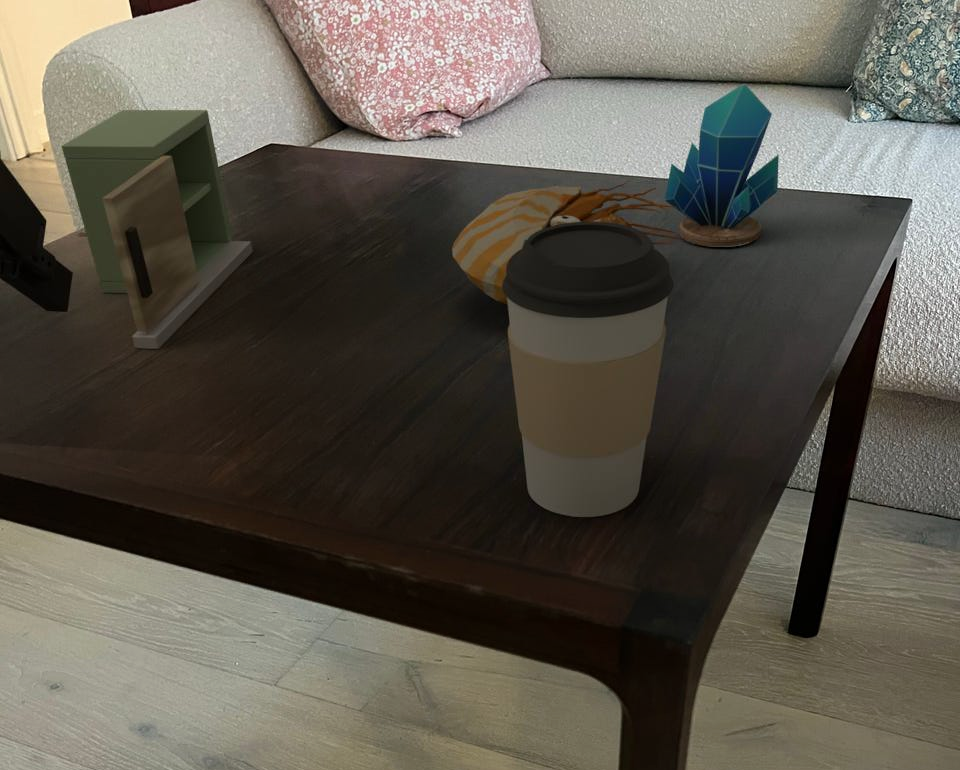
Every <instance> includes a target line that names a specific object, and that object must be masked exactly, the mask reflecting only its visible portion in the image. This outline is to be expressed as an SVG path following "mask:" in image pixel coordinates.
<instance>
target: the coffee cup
mask: <svg viewBox="0 0 960 770" xmlns="http://www.w3.org/2000/svg"><path fill="white" fill-rule="evenodd" d="M641 231H642V230H639V229H637V228H634V227H633V226H632V227H629V226H625V225H620V224H615V223H607V222H572V223H564V224H559V225H554V226H550V227H547V228H544V229H542V230H539V231H537V232H535V233H534V234H532V235H531V236H530V237H529V238H528V239H527V240H526V239H525V241H524V244H523V247H522V249H520V250H519V251H517V252H516V253H515V254H514V255H513V256H512V257H511V258H510V260H509V261H508V263H507V266H506V277H505V279H504V280H503V283H502V290H503V292H504V294H505V296H506V297H507V302H508V305H507V311H508V319H509V325H508V328H507V338H508V345H509V355H510V363H511V372H512V379H513V389H514V396H515V405H516V413H517V420H518V429H519V431H520V434H521V438H522V440H521V441H522V449H523V459H524V466H525V467H524V470H525V477H526V486H527V487H526V488H527V492H528V494H529V496H530V498H531V499H532V500H533V501H534V503H536V504H537V505H538V506H540V507H542V508H543V509H545V510H547V511H549V512H552V513H554V514H559V515H562V516H566V517H574V518H593V517H594V518H595V517H601V516H606V515H610V514H614V513H617V512H619V511H621V510H623V509H625V508H626V507H628V506H629V505H631V504H632V503H633V502H634V501H635V500H636V498H637V497H638V495H639V490H640V484H641V478H642V472H643V466H644V465H643V464H644V457H645V451H646V444H647V437H648V435H649V433H650V431H651V427H652V426H651V425H652V420H653V415H654V414H653V413H654V407H655V401H656V395H657V389H658V384H659V377H660V371H661V365H662V357H663V352H664V346H665V339H666V334H667V326H666V324H665V319H666V318H665V317H666V310H667V305H668V298H669V295H671V293H672V292H673V290H674V286H675V281H674V278H673V275H672V274H671V272H670V264H669V262H668V259H667V258H666V257H665V256H664V255H663V254H662V253H661V252H660V251H659V250H658V249H656V248H655V246H654V244H652V242H653V241H652V239H651V238H650V237H649V235H647V234H645V233H643V232H641Z"/></svg>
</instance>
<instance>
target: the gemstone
mask: <svg viewBox="0 0 960 770" xmlns="http://www.w3.org/2000/svg"><path fill="white" fill-rule="evenodd" d="M772 115H773V113H772V112H771V111H770V110H769V109H768V108H767V106H766V105H765V104H764V103H763V102H762V101H761V100H760V99H759V98H758V97H757V95H756V94H755V93H754V92H753V91H752V90H751V89H750V88H749V87H748V86H747V84H746V83H742V84H741V85H739V86H738V87H736V88H735V89H732V90H731V91H729V92H728V93H727V94H724V95H723V96H722V97H720V98H718V99H717V100H715V101H714V102H712V103H711V104H709V105H707V106H706V107H704V110H703V114H702V120H701V123H700V128H699V140H698V141H699V142H698V148H697V147H696V145H695V144H694V142H691V145H690V149H689V151H688V154H687V158H686V161H685V165H684V169H683V171H682V169H679V167H677V166H676V165H674V164H673V163H671V165H670V170H669V175H668V180H667V185H666V190H665V195H664V200H663V201H665V202H666V203H668V204H669V206H674V207H676V208H677V209H676V210H677V211H679V212H680V213H681V214H682V215H684V216H685V217H686V218H684V219H683V220H682V221H681V222H680V223H679V229H678V233H679V236H680V238H681V239H683V238H684V239H685V240H687V241H689V242H692V243H695V244H698V245H704V246H715V247H716V246H721V247H722V246H732V245H733V246H734V245H739V244H744V243H747V242H751V241H753V240H755V239H756V238H757V239H758V238H759V237H760V236H759V235H761V230H762V229H761V228H762V225H761V224H760V222H759V221H758V220H757V219H755V218H754V217H752V216H751V215H752V214H753V213H755V212H756V211H757V210H758V209H760V208H761V207H762V206H763V204H765V202H766V201H768V200H769V199H770V198H772V196H774V195H776V194H777V193H778V189H779V188H778V186H779V185H778V184H779V161H780V159H779V157H780V156H779V155H780V154H777V155H776V156H774V157H773V158H772V159H771V160H769V161H768V162H767V163H766V164H764V165H762V167H761V168H759V169H758V170H757V171H756V172H755V173H753V174H752V175H750V177H749V174H750V173H751V170H752V167H753V165H754V164H755V161H756V159H757V156H758V154H759V152H760V149H761V146H762V143H763V140H764V137H765V135H766V132H767V130H768V127H769V123H770V121H771V118H772ZM758 236H759V237H758ZM684 239H683V240H684ZM757 239H756V240H757ZM685 240H684V241H685ZM756 240H755V241H756ZM687 241H686V242H687ZM689 242H688V243H689Z"/></svg>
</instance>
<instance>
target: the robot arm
mask: <svg viewBox="0 0 960 770" xmlns="http://www.w3.org/2000/svg"><path fill="white" fill-rule="evenodd" d="M1 153H2V151H0V280H2V281H3V282H4V283H6V284H7V285H9V286H10V287H12V288H13V289H15V290H16V291H17V292H19V293H20V294H22V295H23V296H24V297H25V298H28V299H29V300H30V301H32V302H33V303H35V304H36V305H38V306H39V307H41V308H42V309H44V310H45V311H46V312H58V313H68V312H69V305H70V297H71V290H72V284H73V276H74V272H73V271H71V270H70V269H69V268H68V267H66V266H65V265H64V264H63V263H61V262H60V261H59V260H57V258H56V256H55V255H54V254H52V253H51V252H50V251H48V249H46V248H45V247H44V243H45V236H46V228H47V222H48V221H47V219H46V218H45V215H43V213H42V212H41V210H39V208H38V207H37V206H36V204H35V203H34V201H33V200H32V199H31V197H30V196H29V195H28V193H27V192H26V190H25V189H24V188H23V186H22V185H21V183H20V182H19V181H18V180H17V179H16V177H15V176H14V175H13V173H12V171H10V168H8V166H7V165H6V163H5V162H4V161H3V160H2V156H1V155H2V154H1Z"/></svg>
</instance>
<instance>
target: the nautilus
mask: <svg viewBox="0 0 960 770" xmlns="http://www.w3.org/2000/svg"><path fill="white" fill-rule="evenodd" d="M630 181H631V180H629V179H628V180H626V181H624V182H623V183H622V184H618V185H616V186H613V187H610V188H599V189H596V190H592V191H587V192H582V189H581V186H560V185H553V186H550V187H546V188H532V189H526V190H520V191H516V192H511V193H507V194H506V195H503V196H502V197H500V198H499V199H497V200H495V201H493V202H491V203H490V204H489V205H488V206H487V207H486V208H485V209H484V210H483V211H482V212H481V213H480V214H478V216H476V217H475V218H473V220H471V221H470V222H469V223H468V224H467V225H466V226H465V227H464V228H463V229H462V231H461V232H460V233H459V234H458V236H457V238H456V239H455V241H454V242H453V245H452V247H451V251H452V257H453V259H454V260H455V261H456V263H457V265H459V267H460V268H461V270H462V271H463V272H464V274H465V276H466V277H467V278H468V280H469V281H470V282H471V283H472V284H473V285H475V286H476V287H477V288H478V289H479V290H481V291H482V292H483V293H484V294H485V295H486V296H488V297H490V298H492V299H493V300H495V301H497V302H499V303H502V304H504V305H507V306H508V302H507V297H506V296H505V294H504V292H503V290H502V283H503V280H504V279H505V277H506V266H507V263H508V261H509V260H510V258H511V257H512V256H513V255H514V254H515V253H516V252H517V251H519V250H520V249H522V247H523V244H524V241H525V239H526V240H527V239H528V238H529V237H530V236H531V235H532V234H534V233H535V232H537V231H539V230H542V229H544V228H547V227H550V226H554V225H559V224H564V223H572V222H607V223H615V224H620V225H625V226H629V227H632V228H633V227H638V228H643V229H648V230H655V231H660V232H667V233H671V234H672V233H673V234H677V232H676V231H674V230H670V229H665V228H661V227H656V226H649V225H645V224H640V223H635V222H631V223H629V222H628V221H626V220H625V219H624V218H622V216H619V215H617V214H616V213H618V212H619V211H625V210H644V211H652V212H656V213H659V214H661V213H662V212H661V211H660V210H658V209H654V208H653V209H652V208H648V207H657V208H660V209H662V210H664V211H665V212H667V213H669V211H668V209H666V208H672V209H675V210H677V208H676V207H674V206H672V205H670V204H669V205H668V204H662V203H656V202H654V201H651V200H648V199H645V198H643V197H640V196H644V195H646V194H648V193H650V192H651V191H654V190H656V189H657V188H656V187H653V188H650V189H648V190H646V191H644V192H641V193H634V194H629V193H626V192H612V193H610V194H605V193H604V194H603V193H600V192H602V191H605V192H609V191H612V190H615V189H617V188H619V187H623V186H624V185H625V184H627V183H628V182H630ZM616 196H618V197H619V196H620V197H621V198H617V197H616ZM629 199H634V200H638V201H640V202H645V203H630V204H628V205H624V206H622V205H620V203H616V204H613V205H610V206H607V207H605V208H603V206H604V204H605V203H607V202H613V201H614V202H622V201H626V200H629ZM601 208H603V209H601ZM599 209H601V210H599ZM596 210H598V211H596ZM594 211H595V212H594ZM640 231H641V232H643V233H645V234H646V235H647V236H655V237H661V238H668V239H669V238H670V239H675V240H682V237H678V236H675V235H674V236H673V235H669V234H663V233H656V232H650V231H645V230H640ZM677 243H678V242H677ZM677 243H676V242H670V241H667V242H666V241H652V244H653V245H677Z"/></svg>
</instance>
